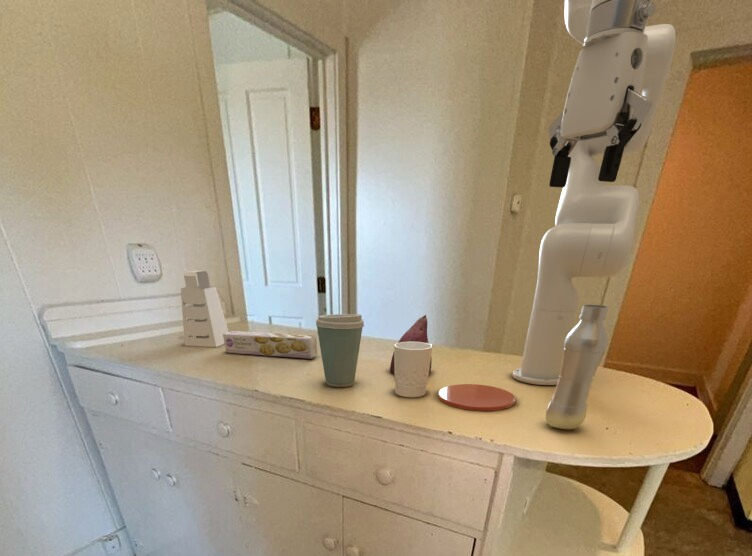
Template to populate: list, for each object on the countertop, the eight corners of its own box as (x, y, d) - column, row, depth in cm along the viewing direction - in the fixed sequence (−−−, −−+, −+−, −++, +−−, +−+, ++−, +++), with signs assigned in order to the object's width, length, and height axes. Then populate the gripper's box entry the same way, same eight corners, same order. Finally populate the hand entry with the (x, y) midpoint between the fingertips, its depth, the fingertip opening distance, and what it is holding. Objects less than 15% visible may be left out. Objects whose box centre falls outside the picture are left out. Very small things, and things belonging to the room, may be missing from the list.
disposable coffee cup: (308, 383, 99) (304, 313, 91) (341, 374, 106) (340, 308, 98) (340, 393, 93) (338, 318, 85) (373, 383, 100) (374, 313, 92)
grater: (184, 345, 132) (169, 271, 121) (201, 339, 141) (188, 269, 130) (216, 347, 131) (203, 272, 120) (231, 340, 140) (220, 270, 129)
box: (225, 353, 124) (221, 332, 121) (235, 349, 128) (231, 329, 125) (311, 360, 118) (310, 339, 114) (318, 356, 122) (317, 335, 119)
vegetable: (426, 380, 114) (446, 321, 107) (427, 386, 104) (449, 322, 98) (389, 368, 113) (406, 308, 107) (386, 373, 104) (405, 308, 97)
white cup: (431, 390, 96) (435, 343, 90) (423, 400, 89) (427, 350, 84) (397, 386, 98) (400, 340, 92) (388, 396, 92) (389, 347, 86)
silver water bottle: (536, 421, 80) (564, 303, 69) (571, 420, 80) (604, 303, 70) (552, 434, 74) (585, 309, 64) (589, 433, 75) (627, 309, 64)
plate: (481, 384, 100) (482, 380, 100) (531, 404, 88) (532, 400, 88) (424, 392, 94) (424, 389, 94) (468, 415, 82) (469, 411, 82)
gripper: (694, 10, 54) (645, 180, 63) (583, 54, 67) (555, 190, 76) (656, -3, 51) (611, 177, 60) (548, 45, 64) (524, 187, 73)
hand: (580, 184), depth 68 cm, fingers open, 9 cm apart
